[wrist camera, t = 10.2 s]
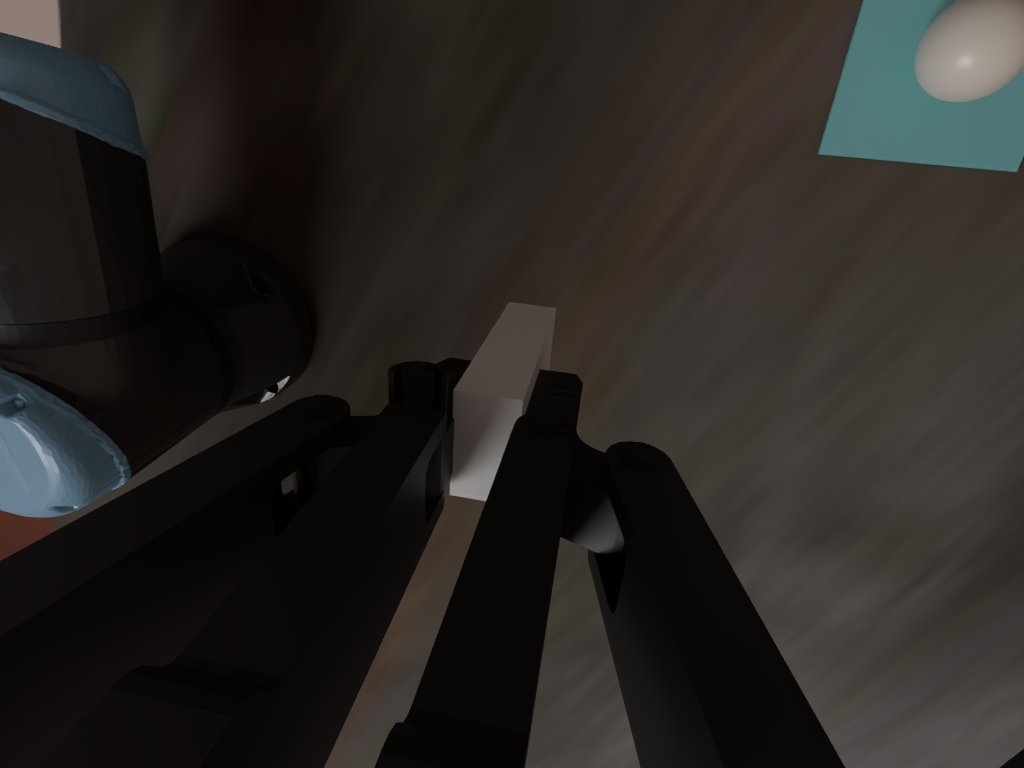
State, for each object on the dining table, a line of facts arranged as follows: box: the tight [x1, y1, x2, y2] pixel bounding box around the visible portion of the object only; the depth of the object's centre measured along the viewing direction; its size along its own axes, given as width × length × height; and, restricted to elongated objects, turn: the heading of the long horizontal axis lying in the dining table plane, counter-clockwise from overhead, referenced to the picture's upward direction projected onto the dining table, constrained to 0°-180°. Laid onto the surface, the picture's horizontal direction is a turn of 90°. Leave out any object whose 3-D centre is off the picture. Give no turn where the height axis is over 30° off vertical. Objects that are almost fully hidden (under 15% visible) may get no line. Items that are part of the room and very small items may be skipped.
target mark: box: [818, 0, 1024, 172], centre depth 34 cm, size 12×12×1 cm
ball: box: [914, 0, 1024, 102], centre depth 31 cm, size 6×6×6 cm
